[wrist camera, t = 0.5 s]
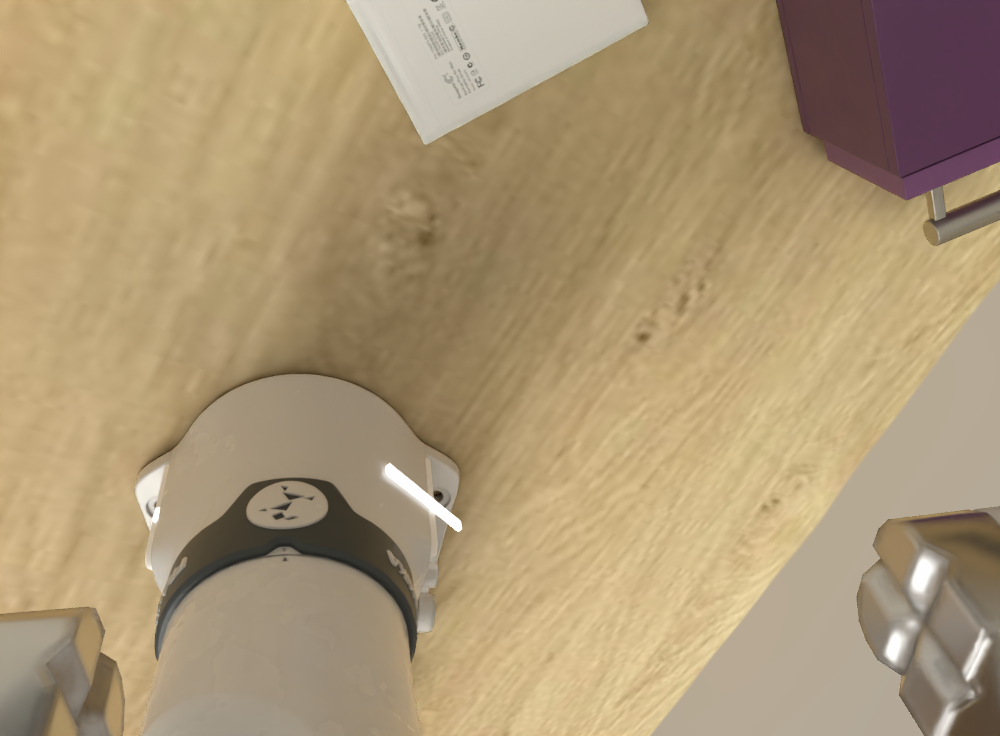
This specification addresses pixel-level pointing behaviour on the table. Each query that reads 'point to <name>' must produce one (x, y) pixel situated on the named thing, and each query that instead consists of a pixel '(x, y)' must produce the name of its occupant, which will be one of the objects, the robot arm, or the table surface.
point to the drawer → (935, 188)
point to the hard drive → (483, 49)
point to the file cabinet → (896, 76)
